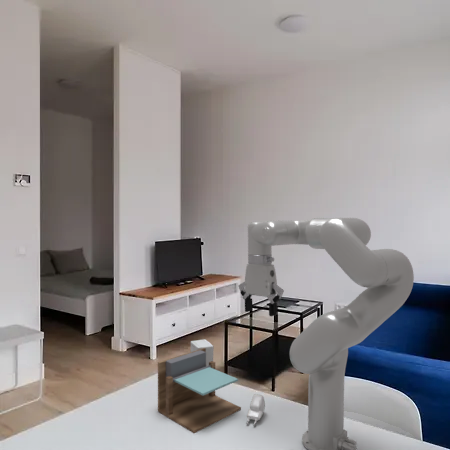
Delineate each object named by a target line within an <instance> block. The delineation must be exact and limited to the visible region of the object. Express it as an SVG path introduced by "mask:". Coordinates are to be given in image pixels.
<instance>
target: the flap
mask: <svg viewBox="0 0 450 450" xmlns="http://www.w3.org/2000/svg"><path fill="white" fill-rule="evenodd" d="M188 353H189V354H187V353H185V354H186V355H183V354H182V355H183V356H180V355H179V356H180V357H177V356H175V357H176V358H174V357H172V358H173V359H170V358H169V359H170V360H167V359H166V360H167V361H166V377H168V376H171V377H173V382H176V383H178V384H180V385H182V386H184V387H186V388H188V389H190V390H193V391H195V392H197V393H199V394H201V395H206V394H208V393H210V392H213V391H215V392H216V391H217V390H220V389H222V388H224V387H227V386H229V385H231V384H233V383H236V382H238V381H239V378H237V377H235V376H232V375H229V374H227V373H224V372H223V371H220V370H218V369H216V368H215V369H213V368H211V366H210V365H209V366H206V352H204V351H201V350H199V351H196V352H193V353H190V352H188Z"/></svg>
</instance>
